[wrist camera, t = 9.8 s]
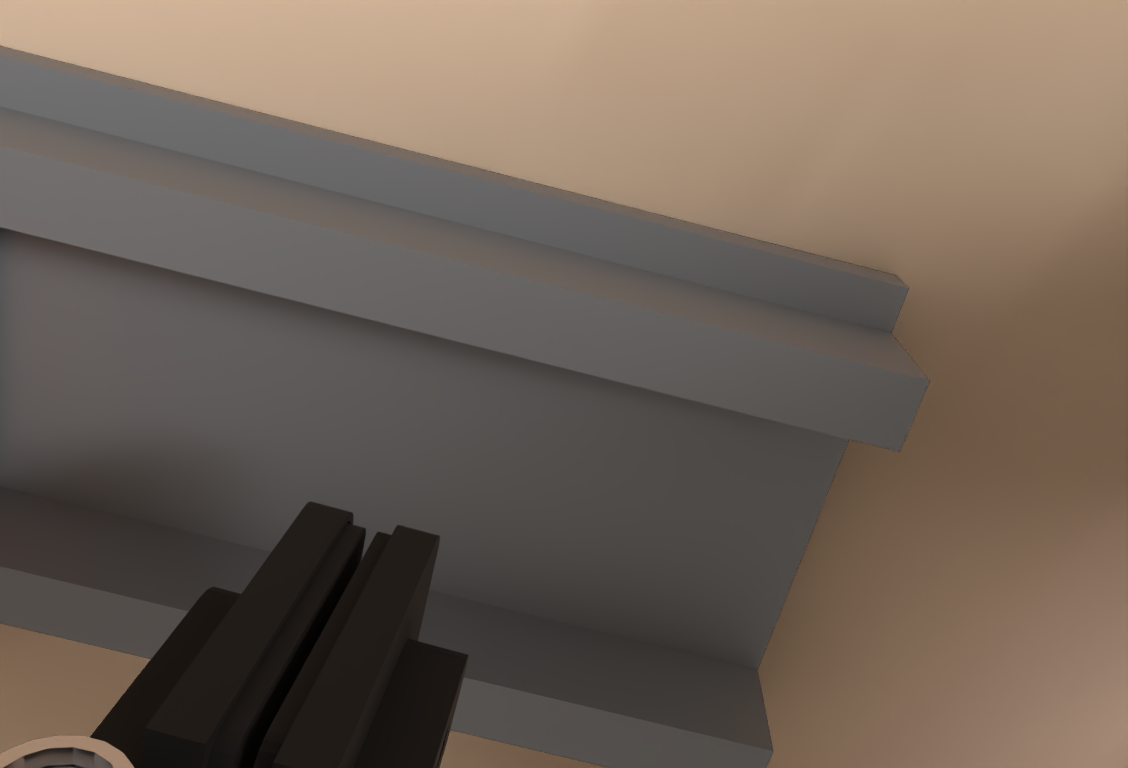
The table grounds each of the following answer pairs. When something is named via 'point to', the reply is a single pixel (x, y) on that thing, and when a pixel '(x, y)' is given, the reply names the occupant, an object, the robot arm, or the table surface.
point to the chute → (419, 405)
